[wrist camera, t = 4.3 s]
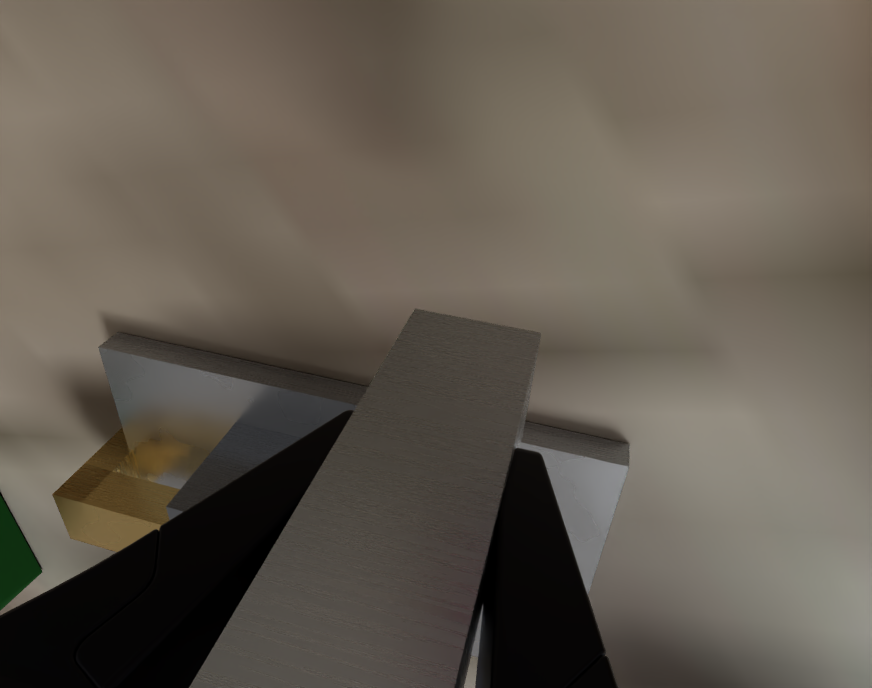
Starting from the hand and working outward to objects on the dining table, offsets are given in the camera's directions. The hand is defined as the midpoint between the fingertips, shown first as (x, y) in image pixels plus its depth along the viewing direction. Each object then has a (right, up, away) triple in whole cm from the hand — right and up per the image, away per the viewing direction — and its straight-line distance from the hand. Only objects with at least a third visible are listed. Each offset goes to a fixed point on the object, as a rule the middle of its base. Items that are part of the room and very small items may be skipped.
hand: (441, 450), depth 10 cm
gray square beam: (+1, +1, +2) cm, 2 cm away
